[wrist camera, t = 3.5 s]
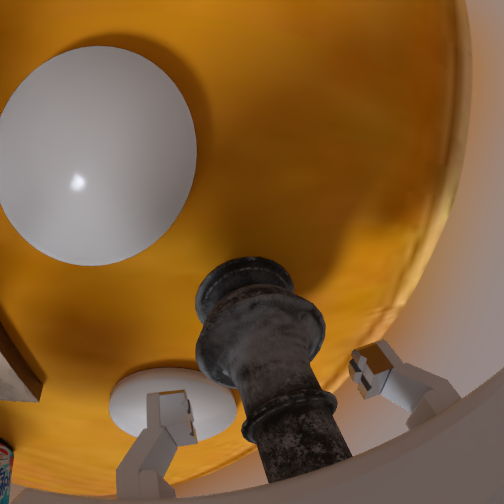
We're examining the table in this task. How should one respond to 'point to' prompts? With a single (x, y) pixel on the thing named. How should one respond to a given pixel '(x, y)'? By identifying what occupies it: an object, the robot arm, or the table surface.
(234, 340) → the chess piece
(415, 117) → the table surface
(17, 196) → the dish low side
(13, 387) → the balance
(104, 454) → the table surface
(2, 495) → the beverage can
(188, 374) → the dish high side
